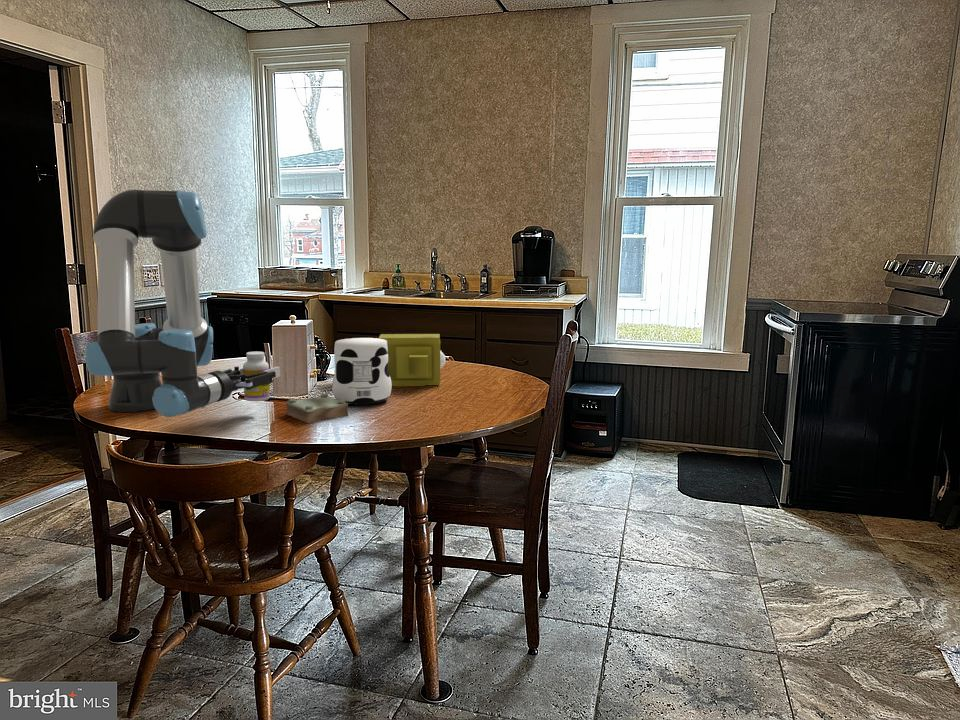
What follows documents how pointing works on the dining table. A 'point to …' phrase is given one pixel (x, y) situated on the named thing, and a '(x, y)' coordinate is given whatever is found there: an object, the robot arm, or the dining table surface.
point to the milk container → (361, 371)
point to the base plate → (317, 408)
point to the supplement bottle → (252, 367)
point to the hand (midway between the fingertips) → (267, 370)
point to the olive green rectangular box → (414, 359)
